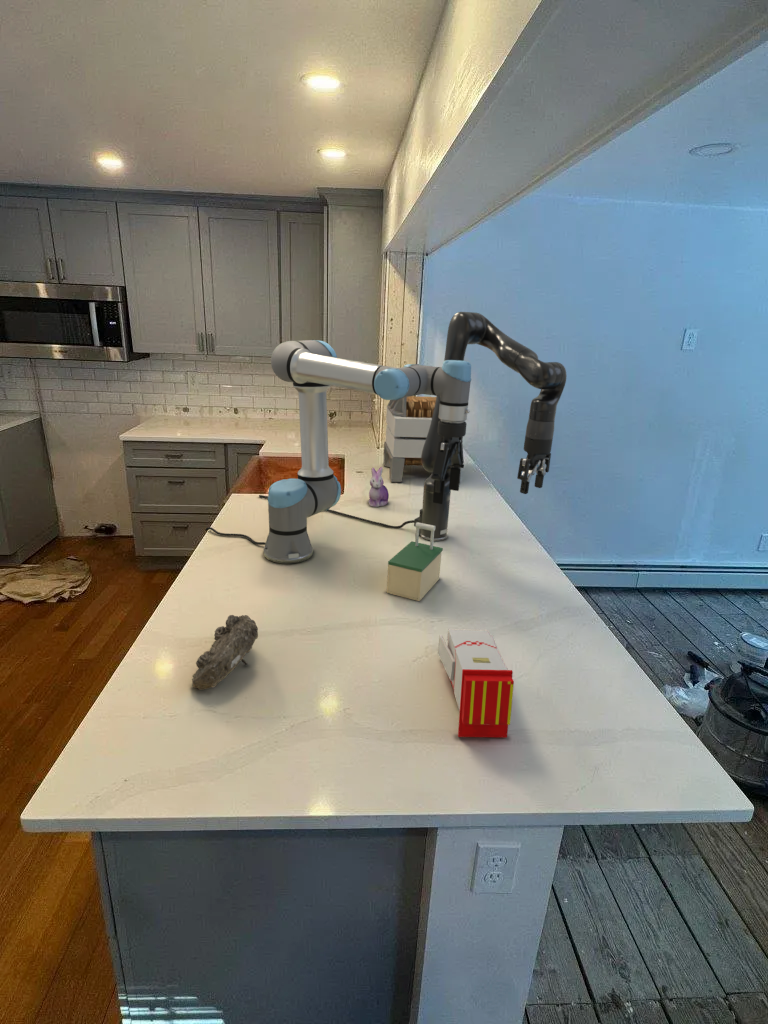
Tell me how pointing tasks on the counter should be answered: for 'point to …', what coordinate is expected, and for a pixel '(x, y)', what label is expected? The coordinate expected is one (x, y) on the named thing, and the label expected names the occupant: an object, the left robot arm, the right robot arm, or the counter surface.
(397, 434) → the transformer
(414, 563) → the lid
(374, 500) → the figurine
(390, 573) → the chest
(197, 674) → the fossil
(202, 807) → the counter surface
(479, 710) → the toy
